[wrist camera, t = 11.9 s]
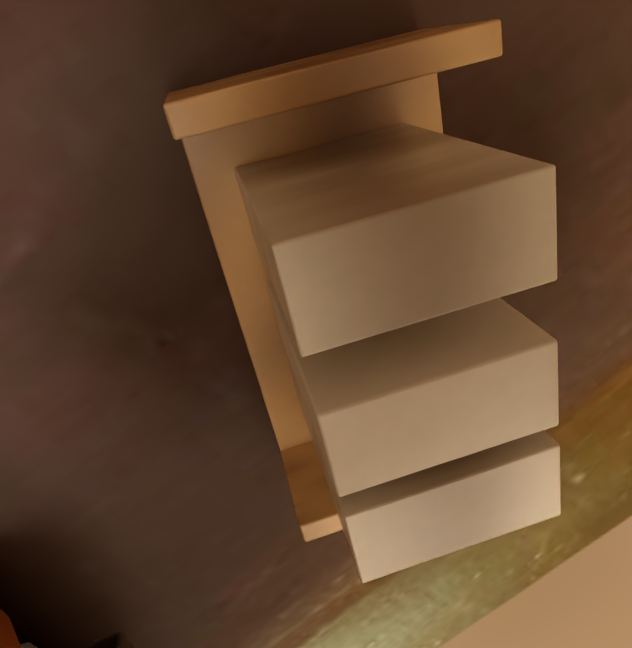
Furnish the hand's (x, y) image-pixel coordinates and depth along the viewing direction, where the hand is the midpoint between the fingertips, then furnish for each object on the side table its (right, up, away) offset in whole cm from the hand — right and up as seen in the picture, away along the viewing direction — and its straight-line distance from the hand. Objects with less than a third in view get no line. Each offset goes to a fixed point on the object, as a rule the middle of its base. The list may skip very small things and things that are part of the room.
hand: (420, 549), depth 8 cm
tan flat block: (0, +5, +11) cm, 12 cm away
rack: (-1, +5, +12) cm, 13 cm away
